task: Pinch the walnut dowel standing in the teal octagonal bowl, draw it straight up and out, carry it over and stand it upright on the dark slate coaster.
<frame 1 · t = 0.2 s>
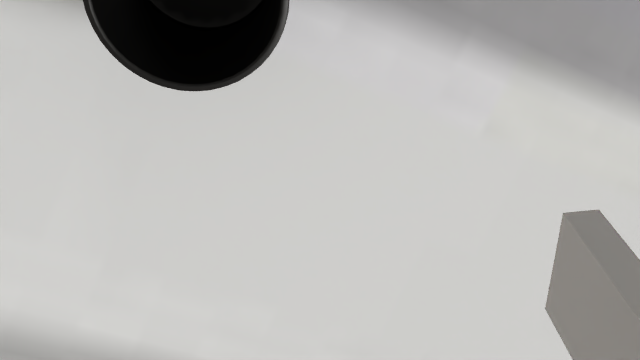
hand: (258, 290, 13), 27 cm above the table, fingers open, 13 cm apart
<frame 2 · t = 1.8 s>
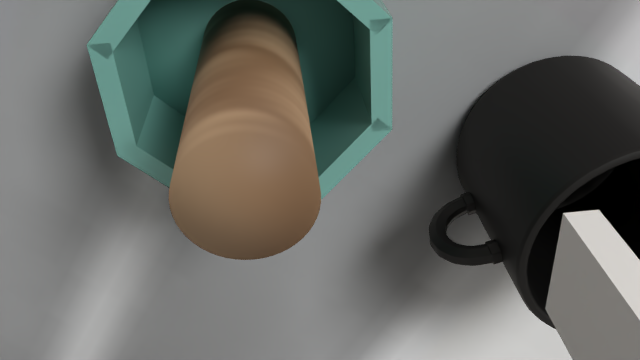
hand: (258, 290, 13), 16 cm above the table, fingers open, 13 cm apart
mug: (518, 147, 31), on the table
dowel: (250, 46, 26), point 1 cm above the table, touching teal octagonal bowl
teal octagonal bowl: (250, 39, 27), on the table
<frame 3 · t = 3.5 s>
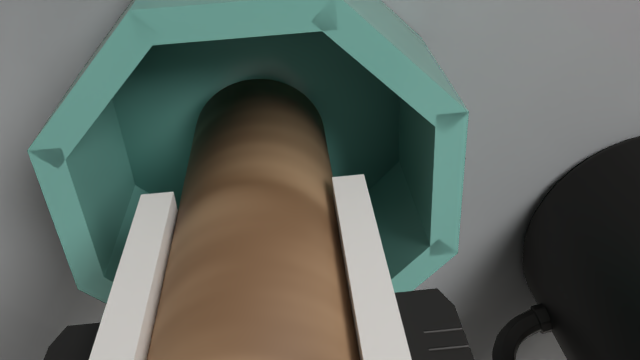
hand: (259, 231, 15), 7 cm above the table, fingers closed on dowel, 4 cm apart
mug: (600, 238, 25), on the table
dowel: (260, 139, 19), point 2 cm above the table, touching gripper
teal octagonal bowl: (262, 113, 20), on the table
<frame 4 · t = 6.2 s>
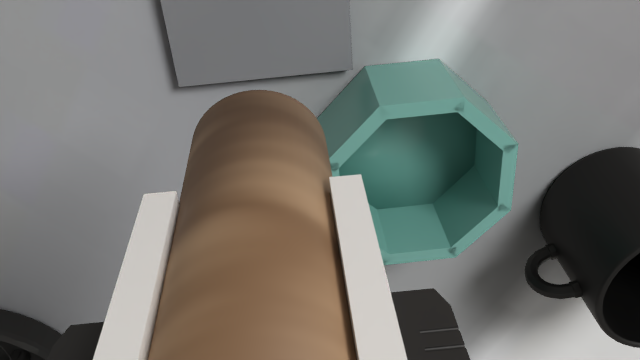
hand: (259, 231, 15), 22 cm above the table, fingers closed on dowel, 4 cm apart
mug: (584, 207, 43), on the table
dowel: (259, 152, 18), point 18 cm above the table, touching gripper
teal octagonal bowl: (402, 141, 39), on the table
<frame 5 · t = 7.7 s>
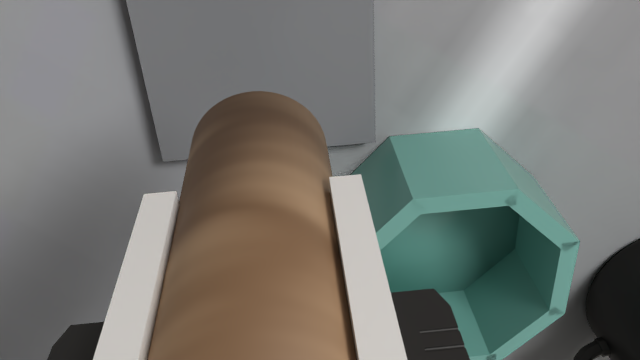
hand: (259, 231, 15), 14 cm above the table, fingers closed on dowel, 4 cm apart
coaster: (257, 43, 27), on the table
mug: (637, 291, 37), on the table
dowel: (259, 153, 18), point 10 cm above the table, touching gripper
teal octagonal bowl: (430, 220, 33), on the table
when the fingers open (7 cm above the table, at t = 9.1 s): dowel drops 3 cm, resting on coaster.
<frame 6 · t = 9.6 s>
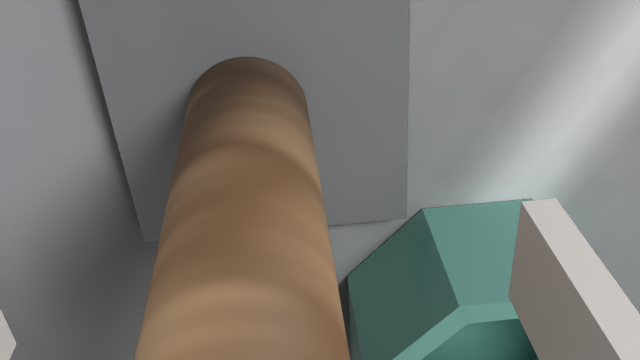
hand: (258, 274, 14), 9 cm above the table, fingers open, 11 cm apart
coaster: (261, 101, 21), on the table
dowel: (248, 113, 20), point 1 cm above the table, touching coaster
teal octagonal bowl: (467, 301, 27), on the table
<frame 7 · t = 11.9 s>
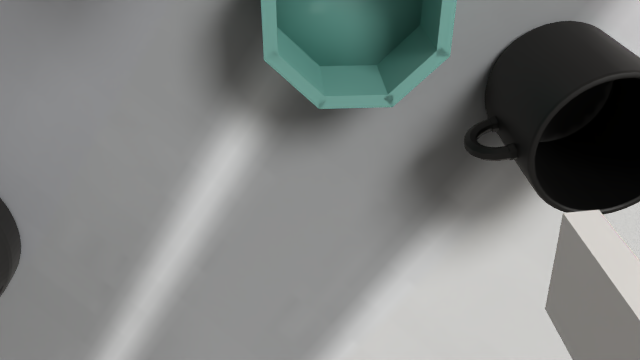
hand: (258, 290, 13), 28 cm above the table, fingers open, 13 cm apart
mug: (531, 89, 43), on the table
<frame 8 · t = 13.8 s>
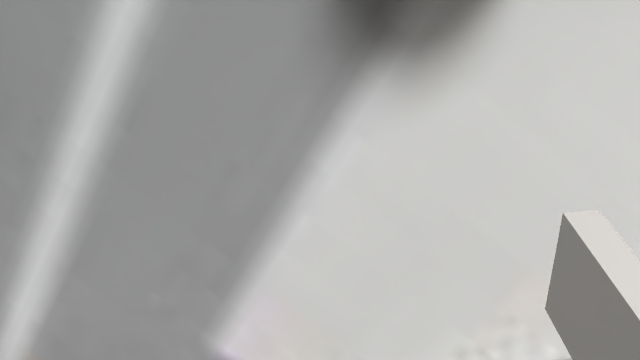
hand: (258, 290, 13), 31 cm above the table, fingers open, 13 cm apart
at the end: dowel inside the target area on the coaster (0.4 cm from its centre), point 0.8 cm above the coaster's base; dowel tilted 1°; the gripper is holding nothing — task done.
